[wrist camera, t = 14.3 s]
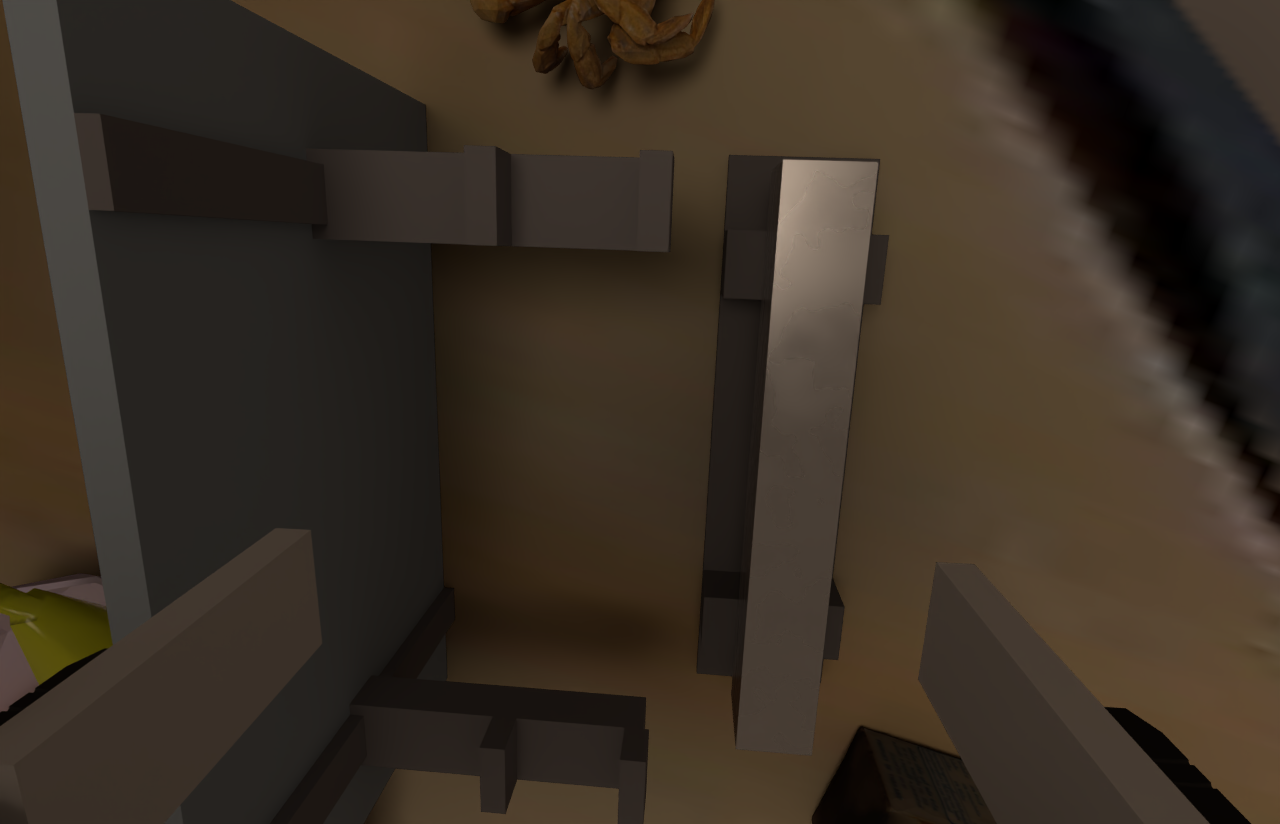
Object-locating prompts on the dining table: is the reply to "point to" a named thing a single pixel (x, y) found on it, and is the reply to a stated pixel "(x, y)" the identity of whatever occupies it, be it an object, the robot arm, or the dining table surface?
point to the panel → (295, 375)
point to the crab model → (629, 37)
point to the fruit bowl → (48, 630)
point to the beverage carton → (900, 786)
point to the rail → (798, 444)
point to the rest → (748, 405)
